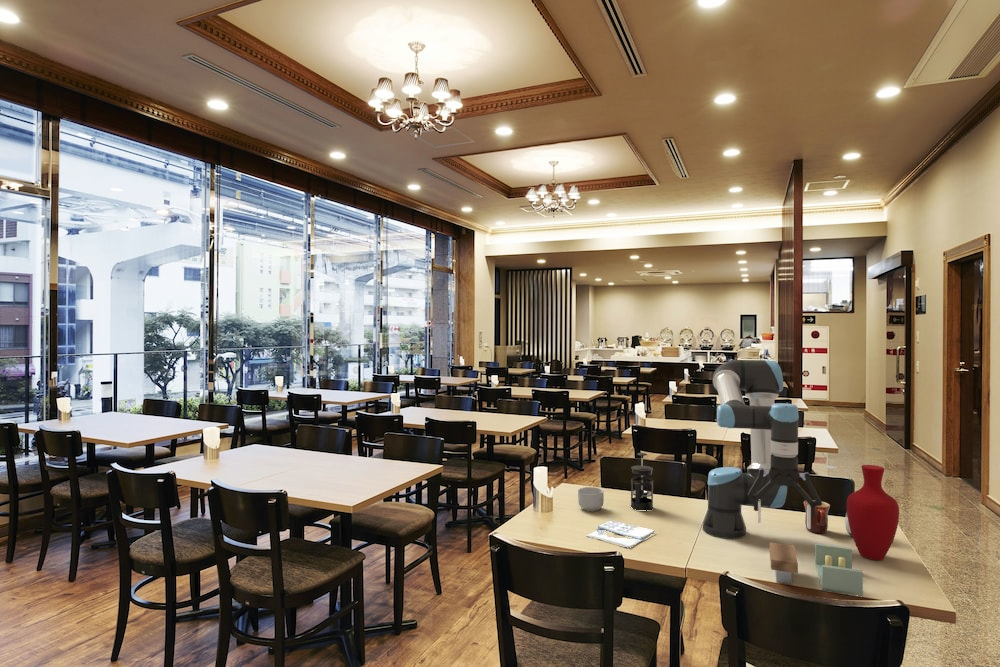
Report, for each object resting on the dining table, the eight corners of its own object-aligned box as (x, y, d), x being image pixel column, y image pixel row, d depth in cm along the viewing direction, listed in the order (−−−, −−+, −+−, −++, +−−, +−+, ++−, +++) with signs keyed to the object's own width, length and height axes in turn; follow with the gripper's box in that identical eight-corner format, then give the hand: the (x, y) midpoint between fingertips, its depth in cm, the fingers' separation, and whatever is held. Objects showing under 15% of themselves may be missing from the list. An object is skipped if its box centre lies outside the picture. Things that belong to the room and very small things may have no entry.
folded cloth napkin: (656, 535, 216) (656, 529, 216) (628, 551, 201) (628, 545, 201) (611, 523, 229) (611, 518, 229) (582, 537, 214) (582, 531, 214)
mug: (800, 526, 225) (800, 499, 225) (825, 527, 223) (825, 500, 223) (810, 537, 213) (810, 509, 213) (836, 539, 211) (836, 510, 211)
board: (771, 569, 174) (771, 559, 174) (769, 551, 188) (769, 542, 187) (797, 573, 171) (797, 563, 171) (794, 555, 185) (794, 545, 185)
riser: (776, 582, 176) (776, 567, 175) (775, 569, 185) (775, 555, 185) (791, 584, 174) (791, 569, 174) (789, 571, 183) (789, 557, 183)
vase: (842, 545, 205) (843, 460, 204) (892, 552, 199) (893, 463, 199) (849, 561, 191) (850, 469, 191) (903, 568, 185) (904, 474, 185)
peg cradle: (822, 590, 170) (822, 566, 170) (815, 564, 188) (815, 543, 188) (862, 597, 166) (862, 572, 166) (851, 570, 184) (851, 547, 184)
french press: (634, 503, 254) (635, 449, 253) (656, 506, 249) (656, 452, 249) (626, 510, 243) (626, 455, 243) (648, 514, 239) (649, 457, 238)
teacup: (605, 513, 240) (605, 493, 239) (578, 513, 240) (579, 493, 240) (600, 503, 254) (600, 484, 253) (575, 502, 254) (575, 484, 254)
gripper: (739, 453, 180) (739, 522, 180) (832, 461, 170) (831, 534, 171) (740, 449, 187) (739, 515, 187) (829, 456, 177) (828, 526, 178)
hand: (783, 524), depth 179 cm, fingers open, 13 cm apart
